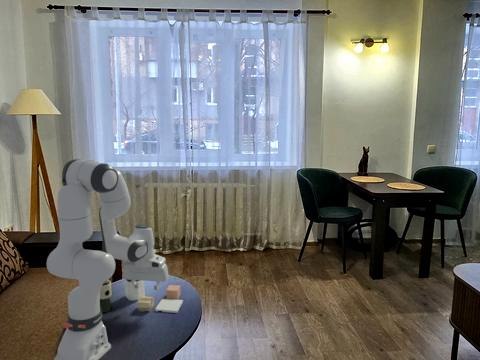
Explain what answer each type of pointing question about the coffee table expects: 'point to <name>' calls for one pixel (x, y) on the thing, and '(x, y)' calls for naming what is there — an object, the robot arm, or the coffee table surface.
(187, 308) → the coffee table surface
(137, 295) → the jar
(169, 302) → the base plate
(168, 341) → the coffee table surface
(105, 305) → the character mug
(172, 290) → the terracotta block
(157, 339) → the coffee table surface
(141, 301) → the maple block
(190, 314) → the coffee table surface
